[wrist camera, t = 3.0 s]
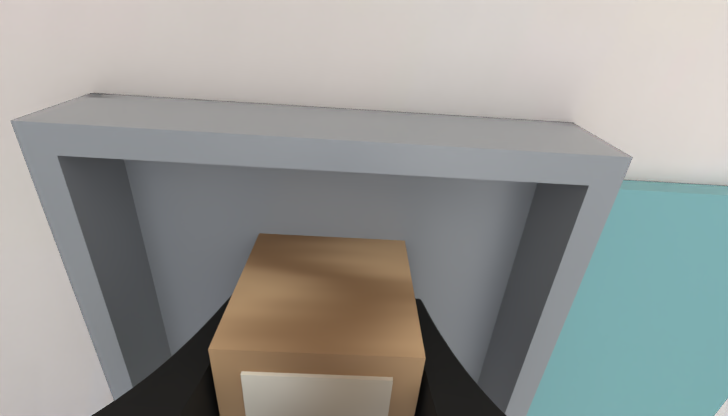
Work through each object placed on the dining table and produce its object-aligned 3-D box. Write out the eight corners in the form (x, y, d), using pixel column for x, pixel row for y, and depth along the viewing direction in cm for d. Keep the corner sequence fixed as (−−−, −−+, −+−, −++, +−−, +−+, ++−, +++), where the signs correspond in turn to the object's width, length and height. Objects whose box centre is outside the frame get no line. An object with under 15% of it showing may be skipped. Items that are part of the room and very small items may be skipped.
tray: (199, 505, 23) (178, 572, 20) (91, 93, 12) (10, 120, 9) (447, 512, 23) (458, 578, 20) (572, 122, 12) (632, 157, 9)
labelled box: (267, 339, 16) (228, 476, 11) (259, 233, 13) (206, 352, 9) (391, 344, 16) (402, 481, 11) (404, 240, 13) (426, 361, 9)
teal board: (473, 497, 22) (477, 513, 22) (591, 178, 13) (604, 188, 12) (626, 501, 23) (635, 518, 22) (850, 192, 13) (878, 203, 12)
